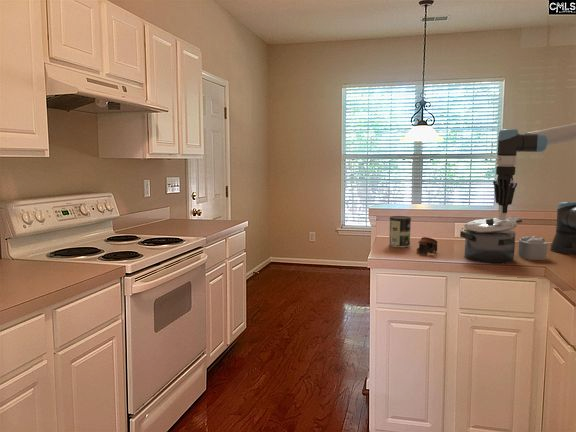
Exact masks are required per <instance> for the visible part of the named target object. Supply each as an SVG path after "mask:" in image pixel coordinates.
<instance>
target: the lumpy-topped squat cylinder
mask: <svg viewBox="0 0 576 432" xmlns="http://www.w3.org/2000/svg"><path fill="white" fill-rule="evenodd" d="M518 255H519V258H522V259H523V260H535V261H539V260H540V261H546V260H547V255H548V242H547V241H546V240H545V238H544V237H539V238H537V237H536V235H533V236H531V237H530V236H529V235H526V236H524V237H523V236H522V237H521V238H520V239H518V251H517V256H518Z"/></svg>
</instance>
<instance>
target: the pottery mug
mask: <svg viewBox="0 0 576 432" xmlns="http://www.w3.org/2000/svg"><path fill="white" fill-rule="evenodd" d="M417 243H418V244H419V245H418V248H416V254H422V255H426V256H427V255H428V253H429V254H433V253H436V252H438V241H437V240H436V239H434V238H431V237H428V236H423V237H420V240H418V242H417Z"/></svg>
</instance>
